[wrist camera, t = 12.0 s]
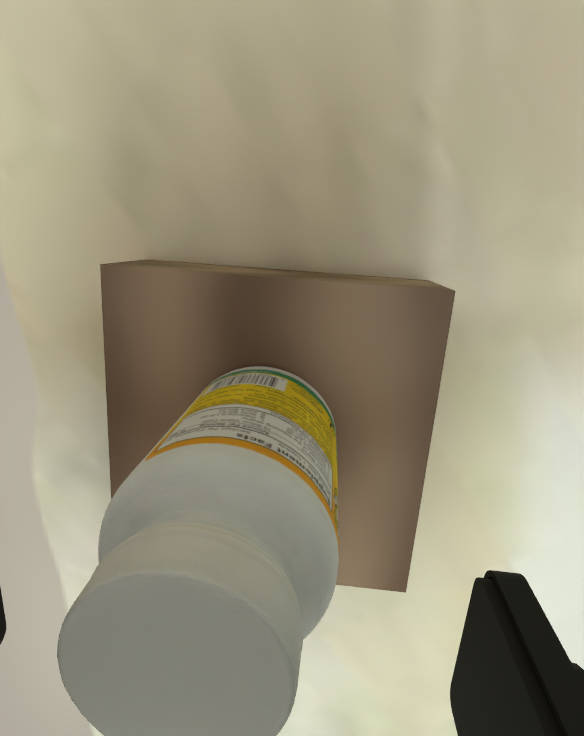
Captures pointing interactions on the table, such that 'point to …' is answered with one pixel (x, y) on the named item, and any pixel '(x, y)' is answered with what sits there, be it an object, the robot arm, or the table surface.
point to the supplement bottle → (211, 567)
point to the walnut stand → (297, 356)
